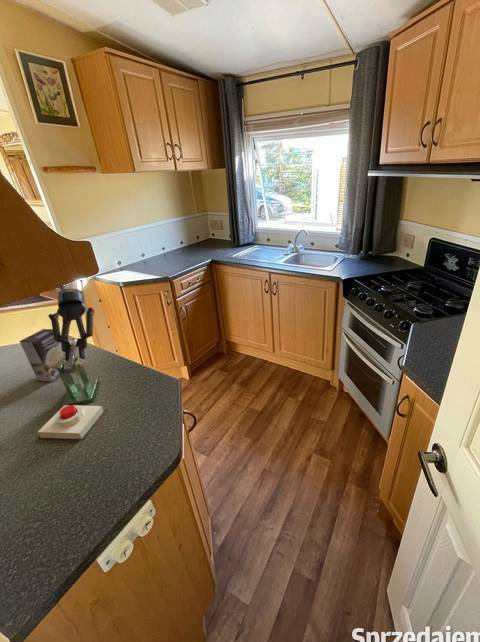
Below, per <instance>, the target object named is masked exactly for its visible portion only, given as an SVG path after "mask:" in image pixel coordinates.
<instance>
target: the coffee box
mask: <svg viewBox="0 0 480 642" xmlns="http://www.w3.org/2000/svg"><path fill="white" fill-rule="evenodd" d="M19 343H20V345H21V347H22V348H21V349H22V350H23V351H24V354H25V356H26V358H27V360H28V363H29V364H30V367H31V369H32V371H33V373H34V375H35V378H36V380H37V381H40V382H41V381H42V382H54V381H55V380H57V378H59V377H61V376H60V374H59V372H58V370H57V367H58V365H59V363H60V362H61V360H65V352H63V351H62V348H61V343H58V342H56V341H55V340H54V336H53V329H52V328H42V329H40V330H39V331H36V332H35V333H32V334H31V335H29V336H26V337H25V338H23V339H21V340H19ZM65 362H68V361H66V360H65Z"/></svg>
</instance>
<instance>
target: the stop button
mask: <svg viewBox="0 0 480 642" xmlns="http://www.w3.org/2000/svg"><path fill="white" fill-rule="evenodd" d="M76 413H77V411H76V409H75V406H73V405H70V406H67V407H64V408H63V409H62V410H61V411H60V415H61V417H62V419H68V418H71V417H73V416H74V415H75V414H76Z"/></svg>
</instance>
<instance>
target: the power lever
mask: <svg viewBox="0 0 480 642" xmlns="http://www.w3.org/2000/svg"><path fill="white" fill-rule="evenodd" d="M68 342H69V343H68V345H69V346H70V347H71V351H70V356H69V361H68V362H65V366H64V370H65V371H66V373H67V374H69V373H70V374H73V373H75V371H74V369H73V366H72V364H73V362H74V360H75V358H76V357H75V356H76V351H77V348H79V347H78V338H71V339H70V340H68Z"/></svg>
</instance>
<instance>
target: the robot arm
mask: <svg viewBox="0 0 480 642" xmlns="http://www.w3.org/2000/svg"><path fill="white" fill-rule="evenodd" d="M56 289H57V290H56V291H57V305H58V308H57V310H56V312H54V313H53V314H52V313H50V314H48V318H49V320H50V321H51V329H53V336H54V340H55V341H56V342H58V343H61V348H62V351H63V352H65V360H66V361H69V356H70V351H71V347H70V346H69V345H68V343H69V335H70V327H71V324H72V321H75V323H76V327H77V331H78V334H79V338H77V339H78V347H77V348H78V357H79V358H80V360H81V359H82V360H86V354H85V353H86V352H85V351H86V350H85V349H87V348H88V339H89V338H90V337H93V336H94V331H93V330H94V315H95V310H94V309H93V307H86V305H85V295H84V284H83V279H82V280H78V281H76V282H74V283H71V284H68V285H65V286H62V287H59V288H57V287H56ZM84 314H85V321H86V322H85V324H86V325H85V326H84V322H83V318H82V317H83V316H84ZM60 317H61V318H62V319H61V321H62V326H61V328H60V322H59V320H60Z"/></svg>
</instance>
